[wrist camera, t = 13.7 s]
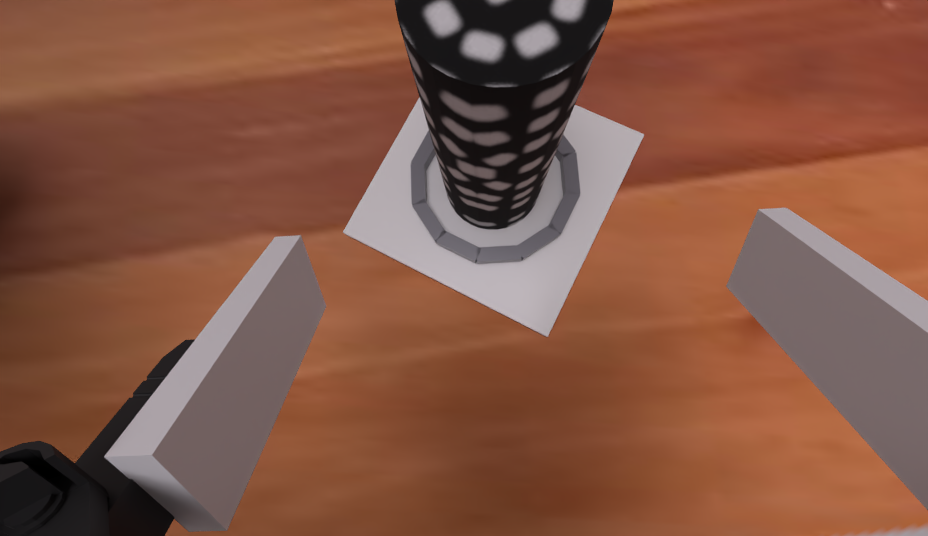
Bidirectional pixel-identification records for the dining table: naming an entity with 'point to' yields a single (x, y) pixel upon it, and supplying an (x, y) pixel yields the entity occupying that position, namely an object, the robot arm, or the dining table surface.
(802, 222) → the robot arm
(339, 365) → the dining table surface
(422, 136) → the ring dock
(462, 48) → the spotted tube
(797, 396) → the dining table surface
